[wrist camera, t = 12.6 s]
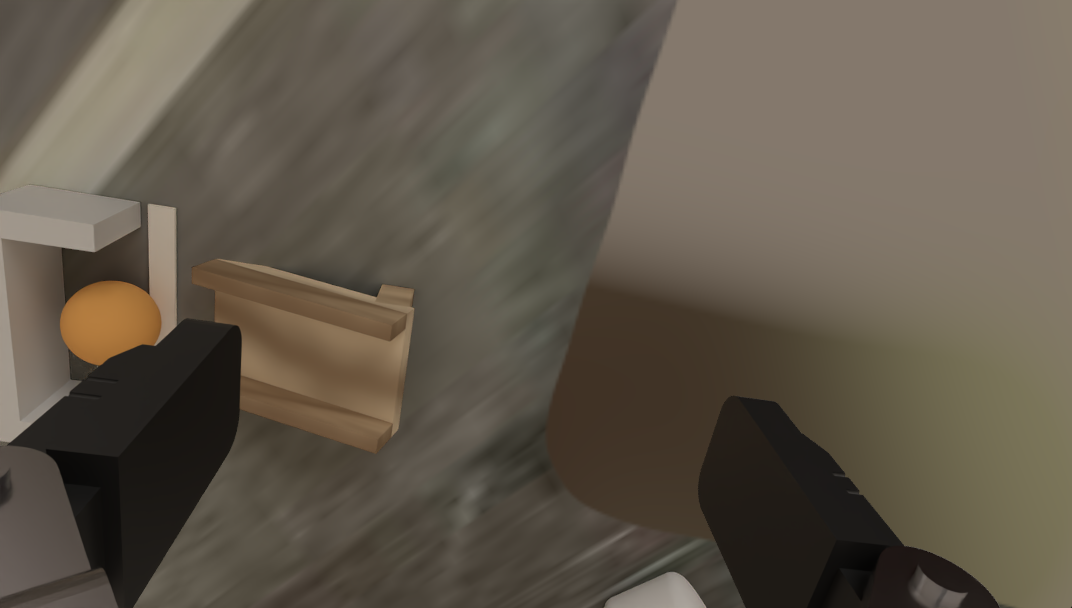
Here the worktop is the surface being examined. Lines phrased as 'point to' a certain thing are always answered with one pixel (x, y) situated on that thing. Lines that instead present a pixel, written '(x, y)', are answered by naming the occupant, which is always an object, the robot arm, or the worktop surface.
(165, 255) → the strip
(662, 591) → the toaster
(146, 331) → the ball
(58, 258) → the backstop
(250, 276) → the ramp
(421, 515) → the worktop surface
